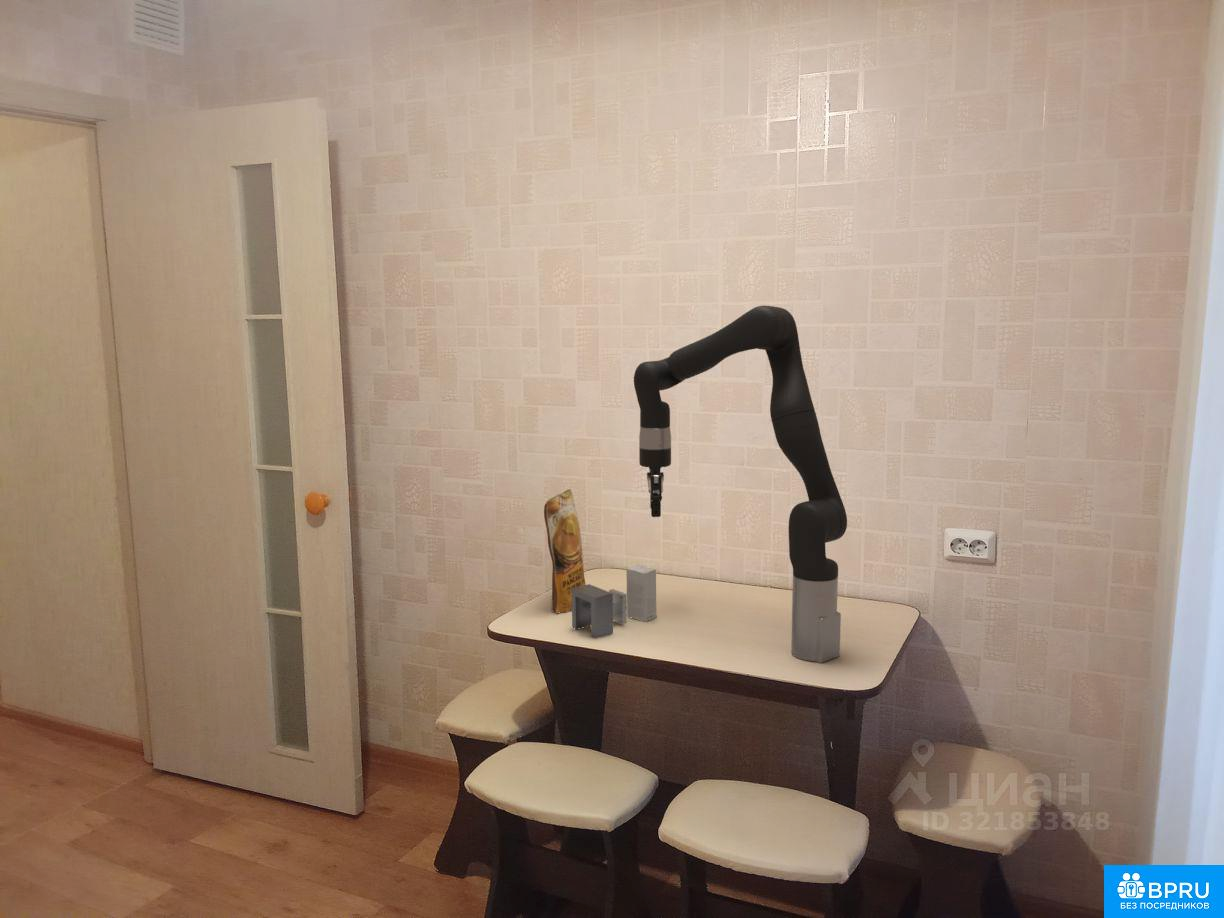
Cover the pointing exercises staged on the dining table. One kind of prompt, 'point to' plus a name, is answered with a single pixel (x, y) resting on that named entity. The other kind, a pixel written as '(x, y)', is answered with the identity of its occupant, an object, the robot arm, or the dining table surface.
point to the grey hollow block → (592, 610)
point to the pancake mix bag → (564, 549)
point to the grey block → (619, 606)
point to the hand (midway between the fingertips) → (655, 512)
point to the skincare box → (641, 593)
